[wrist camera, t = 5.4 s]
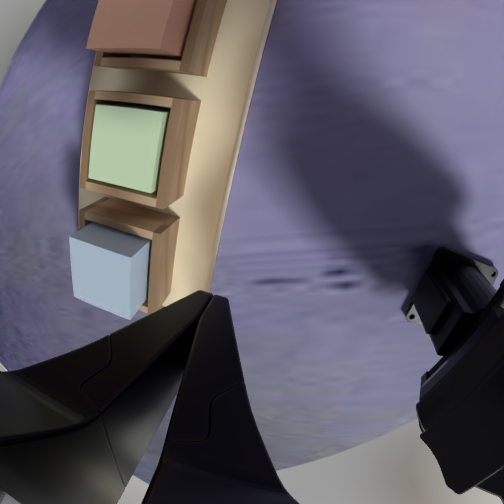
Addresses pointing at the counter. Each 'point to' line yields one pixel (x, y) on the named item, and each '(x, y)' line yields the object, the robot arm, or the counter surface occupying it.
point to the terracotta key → (141, 27)
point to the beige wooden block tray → (181, 142)
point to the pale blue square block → (110, 268)
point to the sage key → (128, 145)
